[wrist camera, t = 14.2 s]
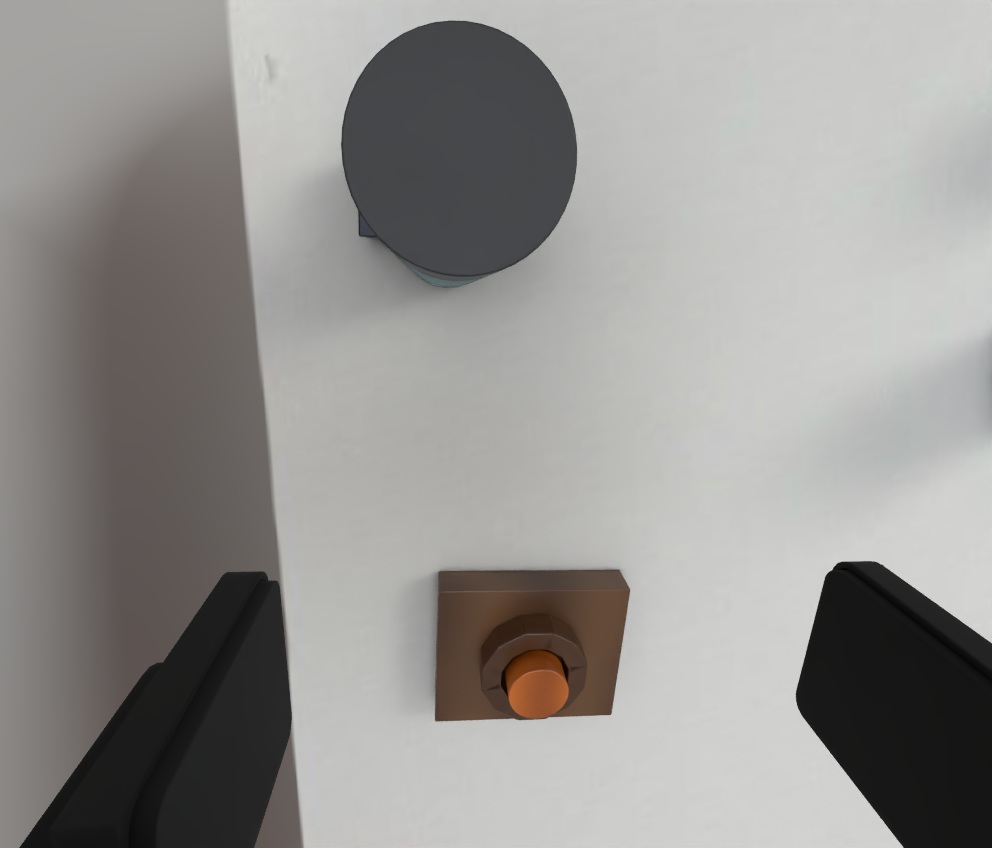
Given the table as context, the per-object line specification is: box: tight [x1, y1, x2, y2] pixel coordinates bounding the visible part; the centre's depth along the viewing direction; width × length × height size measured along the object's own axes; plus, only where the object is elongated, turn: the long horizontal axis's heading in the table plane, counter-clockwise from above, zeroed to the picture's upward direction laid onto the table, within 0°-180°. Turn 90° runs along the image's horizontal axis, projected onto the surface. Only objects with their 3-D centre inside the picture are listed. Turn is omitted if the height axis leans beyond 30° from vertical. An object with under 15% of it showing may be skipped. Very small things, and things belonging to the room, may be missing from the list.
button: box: [505, 650, 569, 719], centre depth 33 cm, size 4×4×2 cm
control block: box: [435, 570, 630, 721], centre depth 35 cm, size 12×10×4 cm
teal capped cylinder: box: [341, 21, 577, 287], centre depth 20 cm, size 5×17×5 cm
